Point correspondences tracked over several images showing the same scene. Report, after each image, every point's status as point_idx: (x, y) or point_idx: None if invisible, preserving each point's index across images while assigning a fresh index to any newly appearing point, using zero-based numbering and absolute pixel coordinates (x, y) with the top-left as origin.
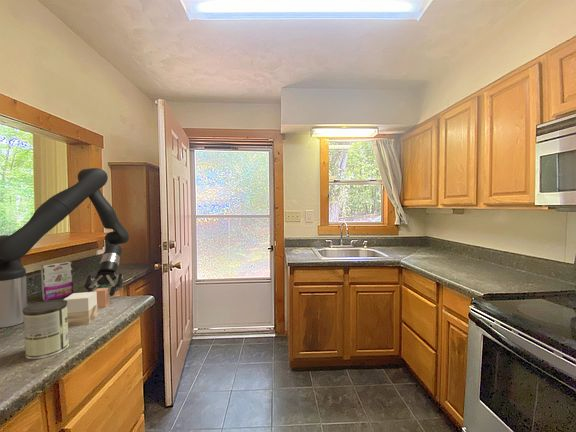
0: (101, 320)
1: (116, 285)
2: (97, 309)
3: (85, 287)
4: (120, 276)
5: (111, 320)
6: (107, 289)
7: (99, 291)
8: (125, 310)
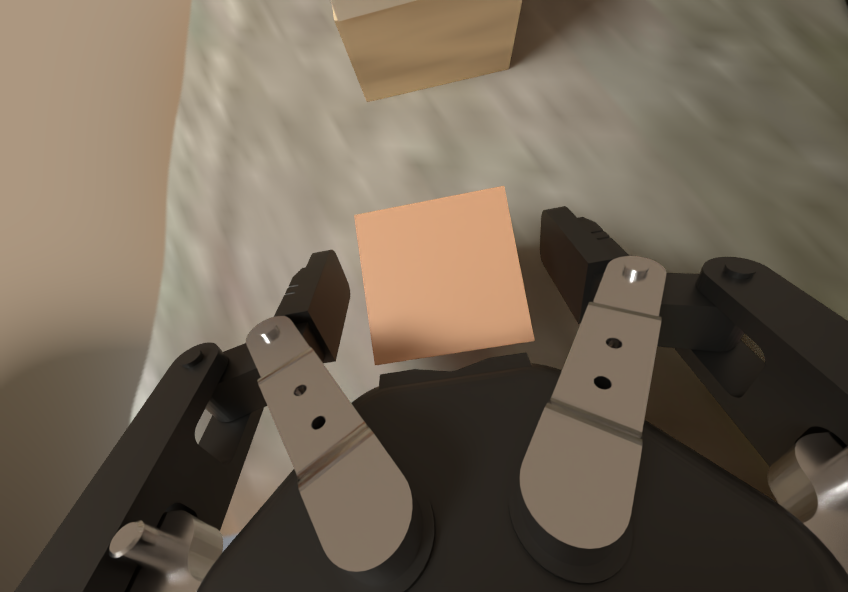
0: (299, 27)
1: (243, 351)
2: (352, 64)
3: (719, 268)
4: (71, 543)
5: (239, 27)
6: (369, 300)
7: (427, 206)
8: (222, 187)
